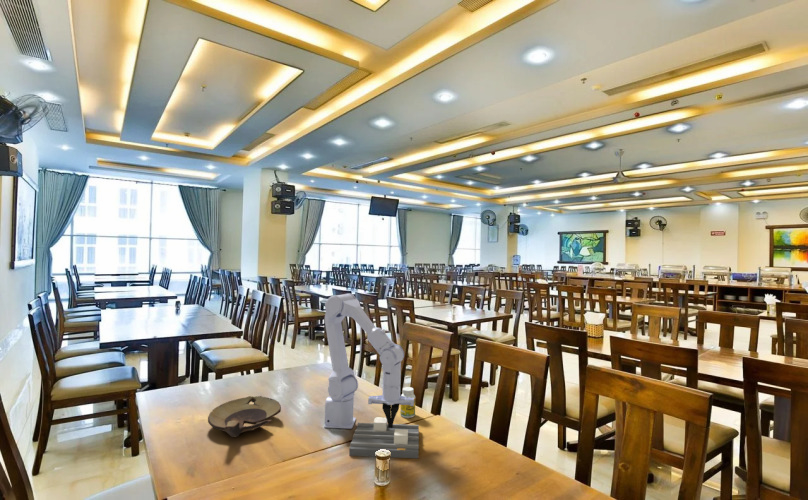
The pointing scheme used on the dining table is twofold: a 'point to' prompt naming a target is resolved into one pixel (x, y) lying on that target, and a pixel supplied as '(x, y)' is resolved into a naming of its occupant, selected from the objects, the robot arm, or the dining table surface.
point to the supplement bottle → (408, 410)
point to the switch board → (384, 441)
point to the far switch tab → (380, 424)
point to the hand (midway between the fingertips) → (390, 426)
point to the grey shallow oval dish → (243, 414)
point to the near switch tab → (400, 436)
